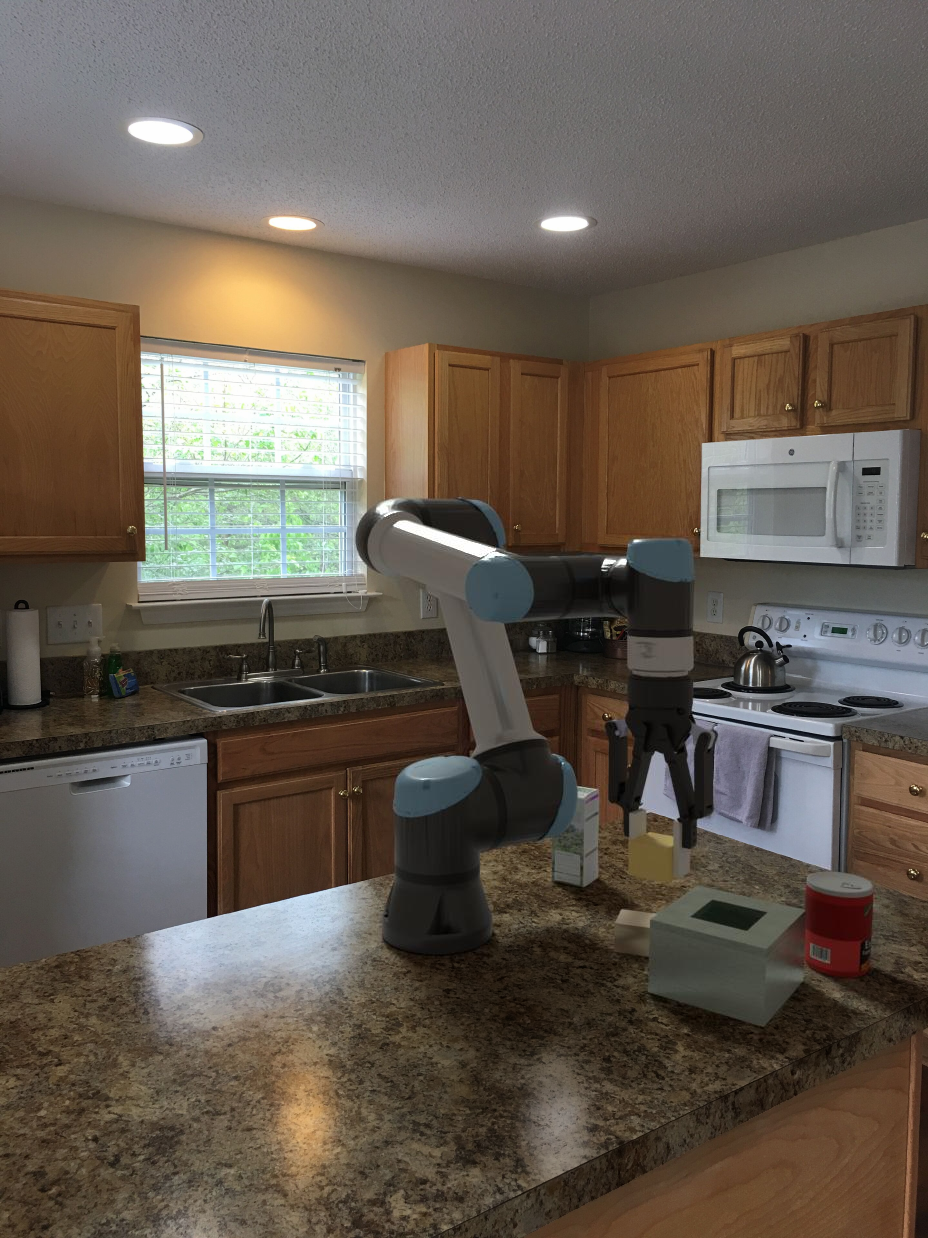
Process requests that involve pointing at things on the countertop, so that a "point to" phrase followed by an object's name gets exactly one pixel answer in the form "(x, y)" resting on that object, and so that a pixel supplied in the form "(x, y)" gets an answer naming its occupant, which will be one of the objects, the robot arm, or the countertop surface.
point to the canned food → (838, 924)
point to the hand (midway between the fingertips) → (659, 869)
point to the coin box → (727, 953)
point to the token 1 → (651, 857)
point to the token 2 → (632, 932)
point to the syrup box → (578, 843)
